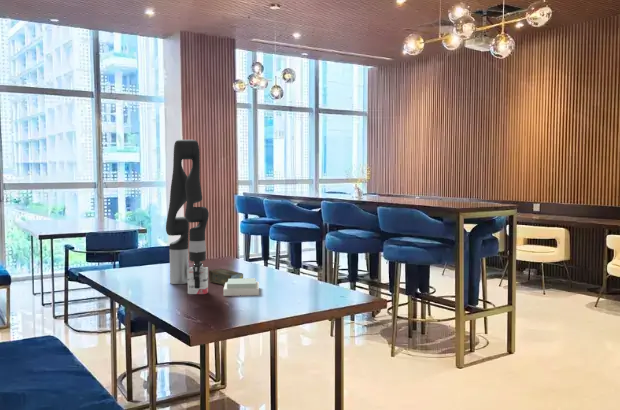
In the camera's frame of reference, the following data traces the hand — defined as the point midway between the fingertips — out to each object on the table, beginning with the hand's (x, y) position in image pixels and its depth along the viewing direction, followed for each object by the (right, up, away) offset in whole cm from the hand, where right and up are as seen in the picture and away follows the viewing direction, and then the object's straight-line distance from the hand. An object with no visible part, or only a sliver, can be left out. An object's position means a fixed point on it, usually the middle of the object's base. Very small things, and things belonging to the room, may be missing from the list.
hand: (197, 286), depth 257 cm
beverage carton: (+9, -2, +24) cm, 25 cm away
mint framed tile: (+20, -3, +3) cm, 20 cm away
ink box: (0, -3, 0) cm, 3 cm away
